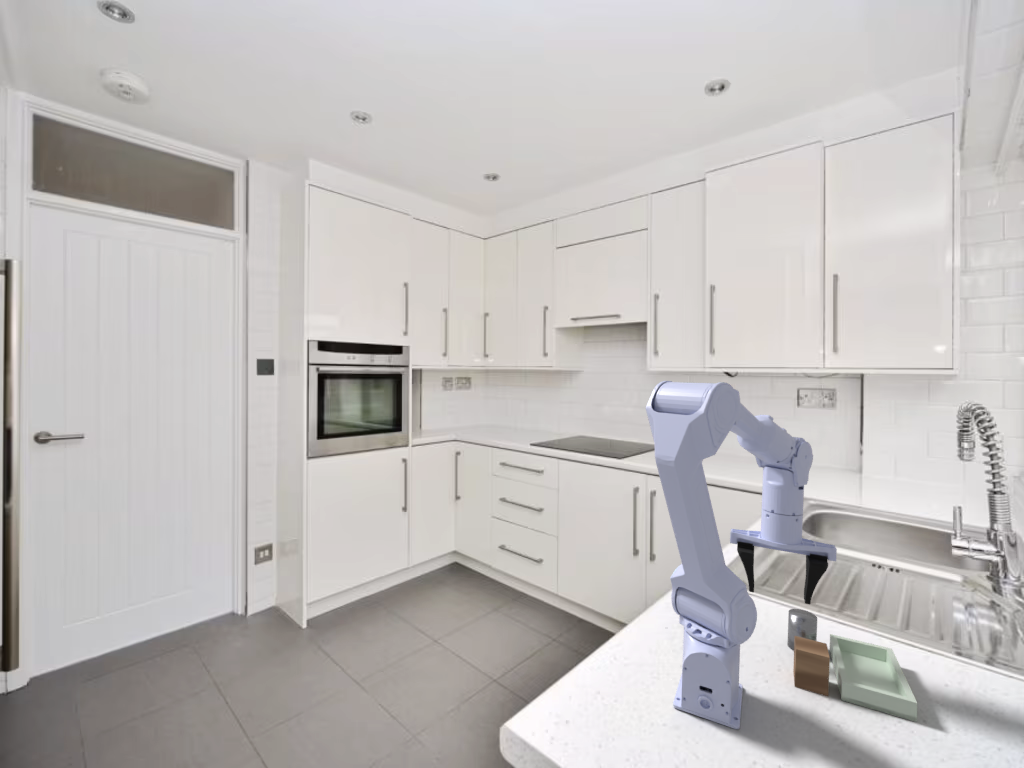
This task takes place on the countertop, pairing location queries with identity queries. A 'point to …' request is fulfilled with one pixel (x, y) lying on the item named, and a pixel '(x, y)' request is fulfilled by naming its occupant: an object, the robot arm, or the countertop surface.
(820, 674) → the walnut block
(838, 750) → the countertop surface
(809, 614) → the steel cylinder
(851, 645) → the tray
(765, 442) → the robot arm
